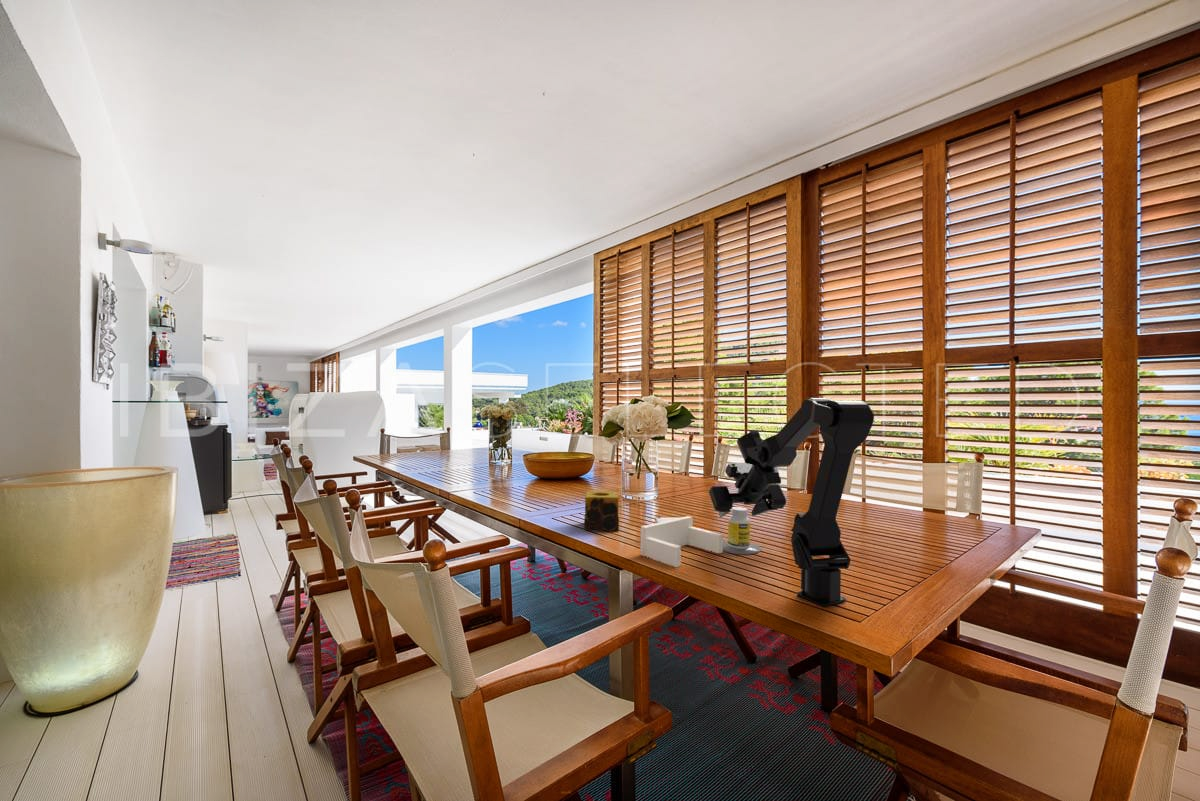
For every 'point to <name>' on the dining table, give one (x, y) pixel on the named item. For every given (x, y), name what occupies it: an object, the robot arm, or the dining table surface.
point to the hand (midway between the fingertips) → (736, 515)
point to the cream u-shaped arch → (676, 540)
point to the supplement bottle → (739, 529)
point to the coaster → (751, 550)
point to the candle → (601, 511)
